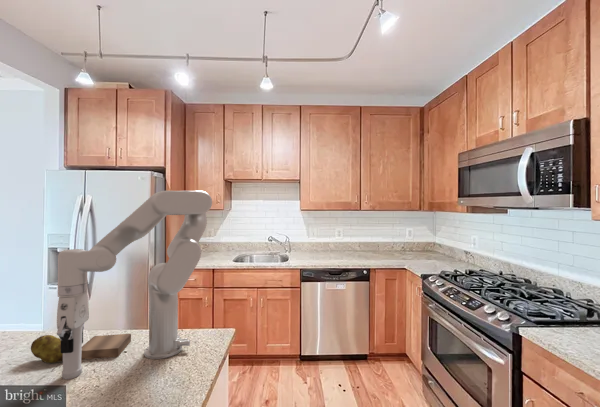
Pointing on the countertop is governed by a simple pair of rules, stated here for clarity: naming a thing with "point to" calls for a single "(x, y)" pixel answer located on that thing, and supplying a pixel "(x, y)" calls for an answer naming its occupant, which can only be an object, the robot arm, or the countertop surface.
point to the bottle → (73, 356)
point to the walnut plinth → (105, 346)
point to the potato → (47, 349)
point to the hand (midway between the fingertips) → (72, 347)
